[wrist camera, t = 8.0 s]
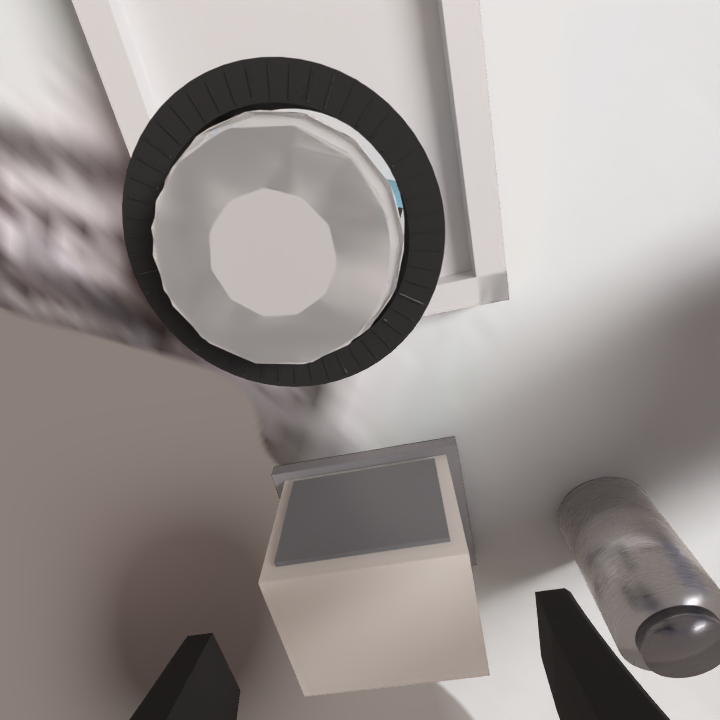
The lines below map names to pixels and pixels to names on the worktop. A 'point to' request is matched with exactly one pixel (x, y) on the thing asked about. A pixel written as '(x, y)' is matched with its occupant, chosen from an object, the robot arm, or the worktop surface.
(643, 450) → the worktop surface
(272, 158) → the push button
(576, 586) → the worktop surface
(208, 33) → the tray
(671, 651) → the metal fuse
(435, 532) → the panel
